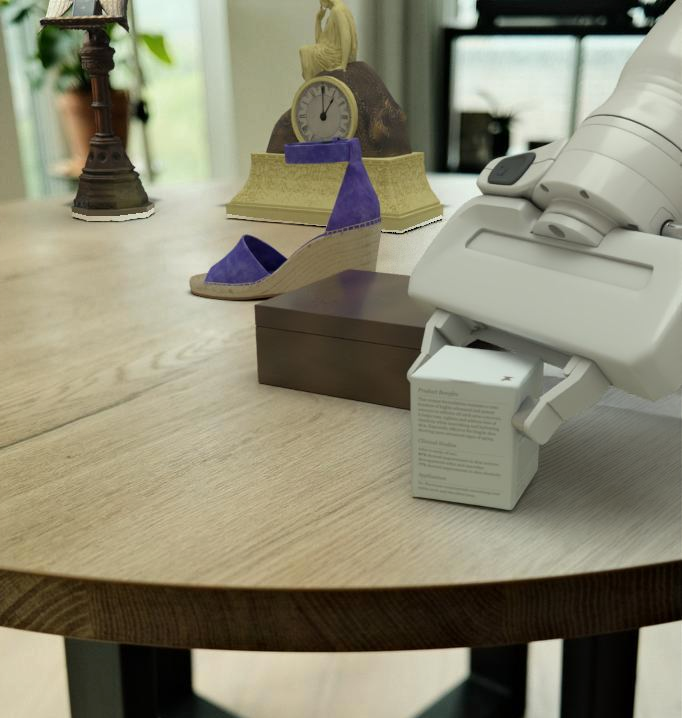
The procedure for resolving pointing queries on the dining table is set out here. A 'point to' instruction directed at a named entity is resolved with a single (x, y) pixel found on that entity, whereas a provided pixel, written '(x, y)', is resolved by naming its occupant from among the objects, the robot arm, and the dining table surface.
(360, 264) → the sandal
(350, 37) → the decorative clock
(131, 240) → the dining table surface
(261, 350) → the low wooden riser
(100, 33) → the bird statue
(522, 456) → the product box
